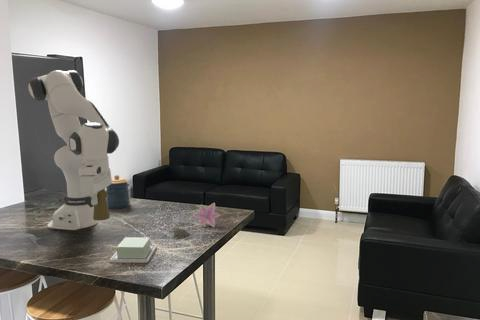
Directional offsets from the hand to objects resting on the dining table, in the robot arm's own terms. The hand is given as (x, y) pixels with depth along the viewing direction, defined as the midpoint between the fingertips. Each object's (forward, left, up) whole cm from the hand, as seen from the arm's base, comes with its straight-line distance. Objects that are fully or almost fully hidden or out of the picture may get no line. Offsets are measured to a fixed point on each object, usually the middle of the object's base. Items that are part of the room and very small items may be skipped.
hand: (98, 202), depth 148 cm
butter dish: (+13, 0, -21) cm, 25 cm away
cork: (+1, 0, -7) cm, 7 cm away
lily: (+37, +37, -22) cm, 56 cm away
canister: (-16, +67, -22) cm, 72 cm away
